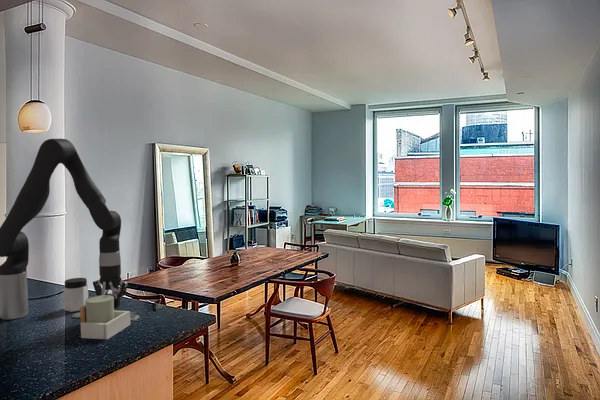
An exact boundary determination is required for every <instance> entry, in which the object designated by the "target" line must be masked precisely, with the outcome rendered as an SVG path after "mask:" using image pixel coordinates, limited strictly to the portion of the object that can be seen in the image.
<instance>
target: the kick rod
mask: <svg viewBox="0 0 600 400" xmlns="http://www.w3.org/2000/svg"><path fill="white" fill-rule="evenodd" d="M107 295H110V296H113V297H114V294H113V293H112V292H110V293H109V292H108V294H107ZM114 299H115V298H114ZM114 310H115V311H120V306H119V307H118V308H114ZM137 312H138V311H130V316H136V315H138V313H137ZM79 313H80V318H79V319H80V324H81V323H82V322H86V305H84V306H81V307H80V311H79Z"/></svg>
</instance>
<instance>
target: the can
mask: <svg viewBox="0 0 600 400" xmlns="http://www.w3.org/2000/svg"><path fill="white" fill-rule="evenodd" d="M85 302H86V322H88V323H107V322H109V321H111V320H112V319H114V297H113V296H110V295H101V296H97V295H96V296H95V295H94V296H90V297H88V299H86V300H85Z"/></svg>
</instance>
